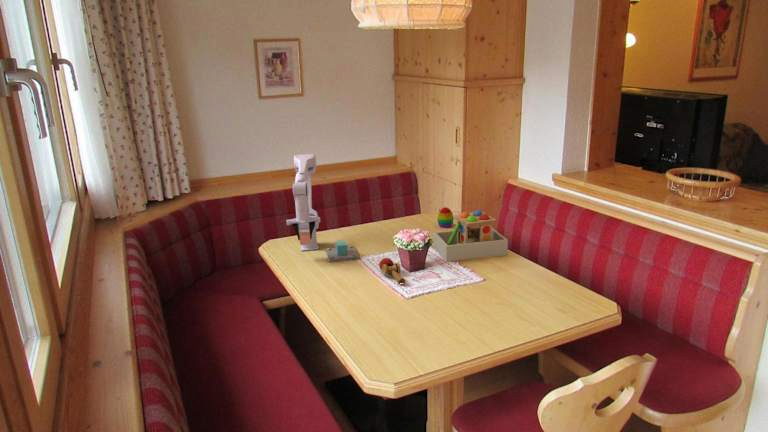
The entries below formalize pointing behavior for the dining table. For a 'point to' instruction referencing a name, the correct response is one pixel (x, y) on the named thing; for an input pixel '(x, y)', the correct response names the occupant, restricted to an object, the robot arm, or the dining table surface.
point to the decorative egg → (445, 218)
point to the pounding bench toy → (470, 220)
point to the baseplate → (334, 257)
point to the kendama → (391, 269)
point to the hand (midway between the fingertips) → (304, 239)
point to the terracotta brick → (304, 237)
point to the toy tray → (469, 247)
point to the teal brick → (341, 248)
